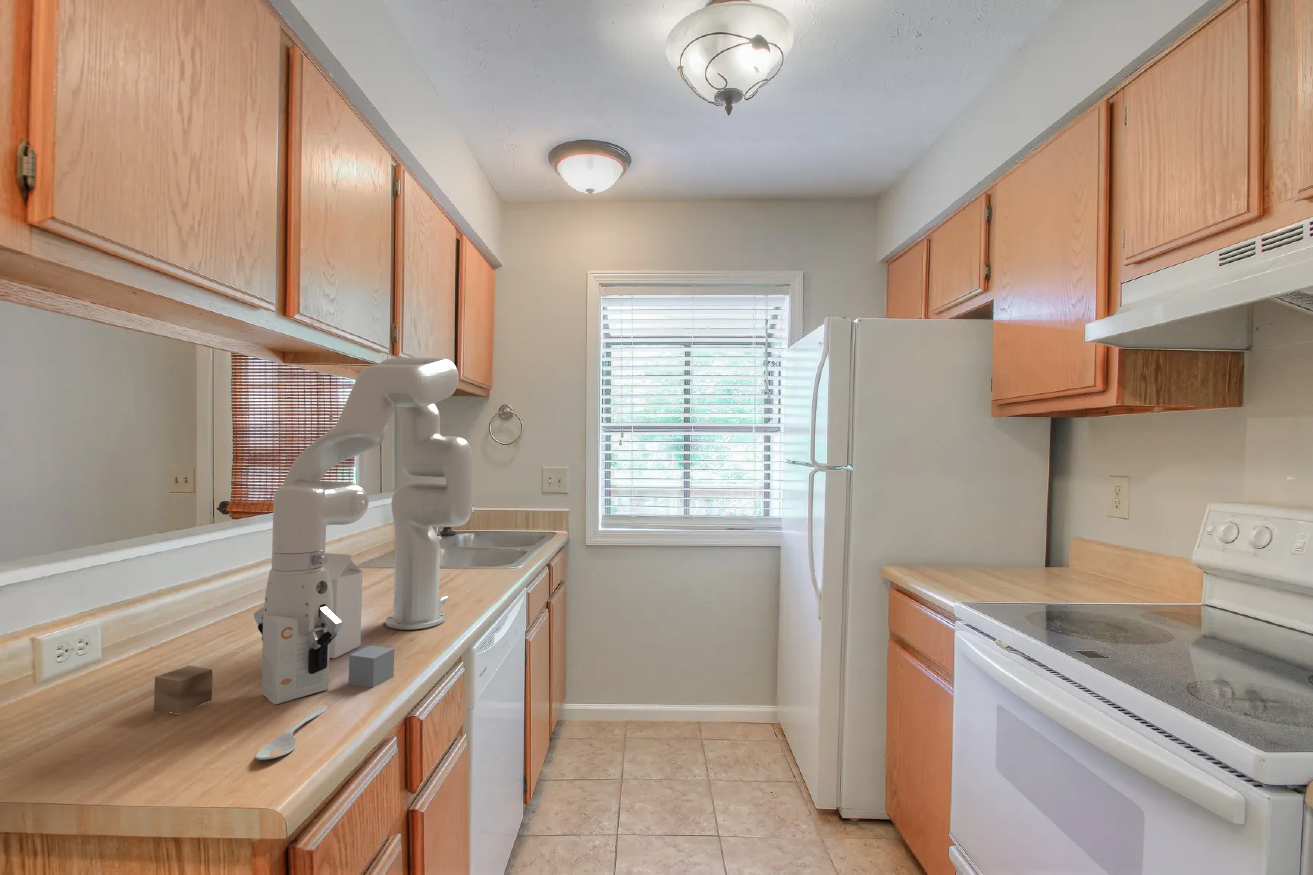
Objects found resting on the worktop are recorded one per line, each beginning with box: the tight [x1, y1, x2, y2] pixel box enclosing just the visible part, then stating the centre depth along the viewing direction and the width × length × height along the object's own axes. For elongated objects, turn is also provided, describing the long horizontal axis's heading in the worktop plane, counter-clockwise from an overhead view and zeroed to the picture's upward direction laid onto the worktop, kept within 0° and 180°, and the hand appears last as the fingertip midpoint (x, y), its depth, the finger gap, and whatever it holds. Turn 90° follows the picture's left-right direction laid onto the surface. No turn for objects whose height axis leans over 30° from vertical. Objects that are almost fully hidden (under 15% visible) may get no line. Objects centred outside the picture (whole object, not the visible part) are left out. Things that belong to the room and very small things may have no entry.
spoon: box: [254, 704, 328, 761], centre depth 86 cm, size 4×21×2 cm, turn 6°
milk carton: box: [325, 552, 363, 659], centre depth 116 cm, size 7×7×19 cm
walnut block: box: [153, 665, 214, 715], centre depth 92 cm, size 5×5×5 cm
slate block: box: [348, 644, 395, 688], centre depth 103 cm, size 5×5×5 cm
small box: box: [261, 614, 330, 706], centre depth 98 cm, size 8×6×13 cm
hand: (295, 667), depth 98 cm, fingers closed on small box, 8 cm apart
